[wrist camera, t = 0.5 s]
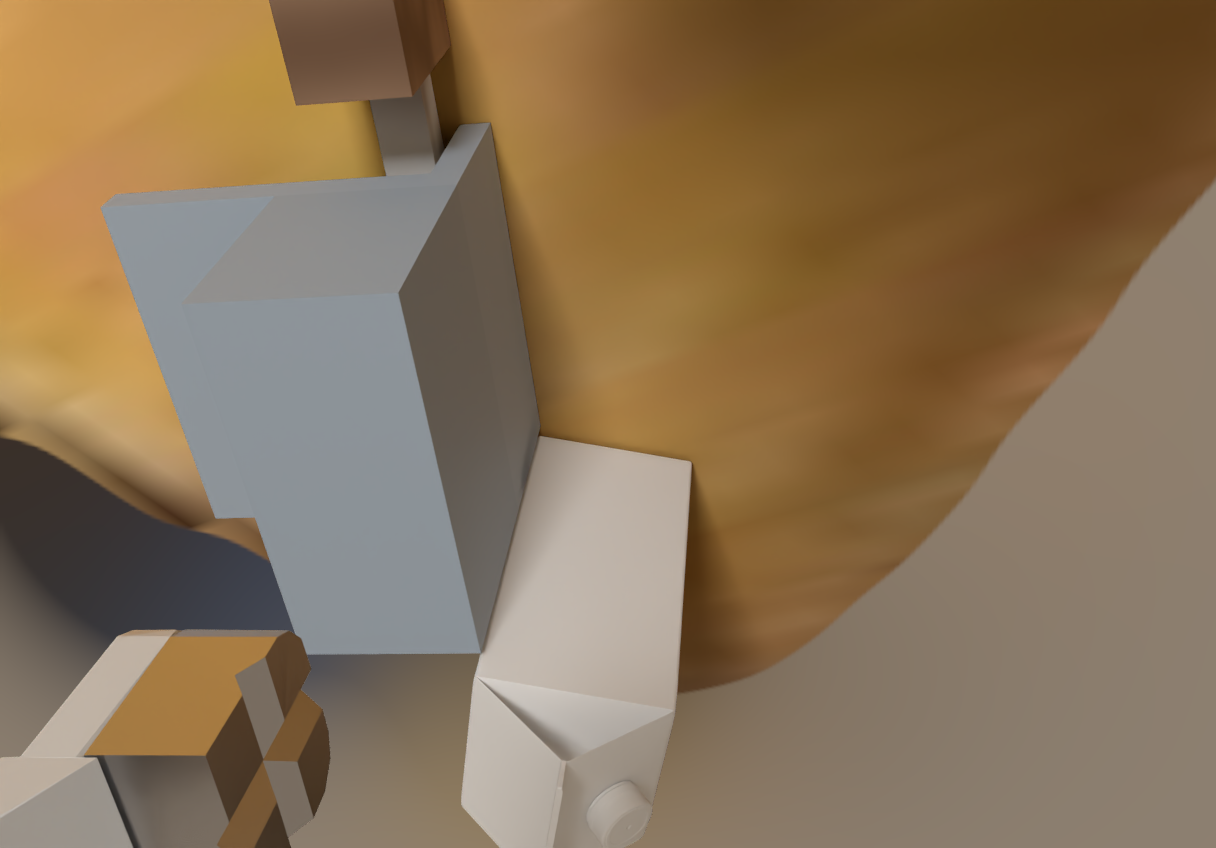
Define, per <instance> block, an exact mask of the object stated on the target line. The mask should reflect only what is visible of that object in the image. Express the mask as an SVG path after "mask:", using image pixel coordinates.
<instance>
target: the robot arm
mask: <svg viewBox="0 0 1216 848" xmlns="http://www.w3.org/2000/svg"><path fill="white" fill-rule="evenodd" d="M310 671H311V666H310V663H309V660H308V657H307V654H306V651H305V648H304V645H303V642H302V639H301V638H300V637H298V636H297V635H295V634H294V633H292V632H290V631H279V630H278V631H277V630H184V631H179V630H133V631H130V632H128V633H125V634H122V635H120V636H117V638H116V639H115V640H114V642H113V643H112V644H111V645H110V646H109V648H108V649H107V650H106V651H105V652H104V654H103V655H102V656H101V657H100V659H99V660H98V661H97V662H96V664H95V665H94V666H93V667H92V669H91V670H90V671H89V672H88V674H87V675H86V676H85V677H84V679H83V680H82V681H81V682H80V683H79V685H78V686H77V687H76V688H75V690H74V691H73V692H72V693H71V695H70V696H69V697H68V698H67V700H66V701H65V702H64V703H63V704H62V706H61V707H60V708H59V710H58V711H57V712H56V713H55V714H54V716H53V717H52V718H51V719H50V721H49V722H48V723H47V724H46V726H45V727H44V728H43V729H42V731H41V732H40V733H39V735H38V736H37V737H36V738H35V739H34V741H33V742H32V743H31V744H30V745H29V747H28V748H27V749H26V750H25V752H24V753H23V754H22V755H21V757H2V758H1V759H0V848H291V846H290V843H289V839H288V838H289V837H290V836H291V835H293V834H294V833H295V832H296V831H298V830H299V829H300V828H301V827H303V826H304V825H306V824H307V823H308V822H309V821H311V820H312V819H313V818H314V816H315V814H316V812H317V809H318V807H319V805H320V802H321V800H322V797H323V795H324V793H325V789H326V783H327V776H328V770H329V764H330V745H329V731H328V728H327V724H326V720H325V716H324V712H323V709H322V708H321V707H320V706H318V705H317V704H316V703H315V702H314V701H313V700H312V699H311V698H310V697H308V696H307V695H306V694H305V693H304V692H303V691H301V688H302V686H303V684H304V682H305V680H306V678H307V676H308V674H309V672H310Z"/></svg>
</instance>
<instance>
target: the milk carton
mask: <svg viewBox="0 0 1216 848" xmlns="http://www.w3.org/2000/svg"><path fill="white" fill-rule="evenodd" d="M691 471H692V463H691V462H690V461H685V460H679V459H673V458H667V457H662V456H656V455H650V454H644V453H638V452H632V451H627V450H621V449H615V448H609V447H603V446H597V445H591V444H586V443H580V442H574V441H568V440H562V439H556V438H550V437H544V436H539V437H538V438H537V442H536V445H535V449H534V453H533V457H532V461H531V464H530V468H529V472H528V476H527V480H526V483H525V487H524V491H523V495H522V499H521V502H520V506H519V510H518V514H517V518H516V521H515V525H514V529H513V533H512V537H511V540H510V544H509V548H508V552H507V556H506V559H505V563H504V567H503V571H502V575H501V578H500V582H499V586H498V590H497V594H496V597H495V601H494V605H493V609H492V613H491V616H490V620H489V624H488V628H487V632H486V635H485V639H484V643H483V647H482V651H481V654H480V658H479V661H478V665H477V669H476V673H475V676H474V681H473V690H472V699H471V708H470V718H469V728H468V738H467V748H466V757H465V767H464V777H463V786H462V797H461V801H462V802H461V804H462V807H463V808H464V809H465V810H466V811H467V812H468V813H469V814H470V816H471V817H472V818H473V819H474V820H475V821H476V822H477V823H478V824H479V825H480V827H481V828H482V829H483V830H484V831H485V832H486V833H487V834H488V835H489V836H490V837H491V838H492V840H493V841H494V842H495V843H496V844H497V845H498V846H499V847H500V848H625V847H627V846H629V845H630V844H632V843H634V842H636V841H637V840H639V839H641V838H642V837H643V835H644V833H645V831H646V828H647V824H648V822H649V820H650V818H651V815H652V806H653V802H654V798H655V794H656V790H657V786H658V782H659V778H660V774H661V770H662V766H663V762H664V758H665V754H666V750H667V746H668V743H669V739H670V735H671V731H672V726H673V722H674V717H675V712H676V702H677V690H678V675H679V659H680V643H681V628H682V612H683V596H684V581H685V565H686V549H687V534H688V518H689V502H690V487H691Z"/></svg>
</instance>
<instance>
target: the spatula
mask: <svg viewBox="0 0 1216 848" xmlns="http://www.w3.org/2000/svg"><path fill="white" fill-rule="evenodd" d="M269 3H270V6H271V10H272V14H273V18H274V22H275V26H276V30H277V34H278V37H279V41H280V45H281V49H282V53H283V57H284V61H285V65H286V68H287V72H288V76H289V80H290V84H291V88H292V92H293V96H294V99H295V103H296V106H297V105H310V104H323V103H336V102H349V101H362V100H370V105H371V109H372V114H373V118H374V123H375V127H376V132H377V136H378V141H379V145H380V150H381V154H382V159H383V163H384V168H385V172H386V176H398V175H413V174H428V173H431V172H432V170H433V169H434V167H435V165H436V164H437V162H438V160H439V159H440V157H441V155H442V154H443V152H444V144H443V139H442V134H441V129H440V123H439V118H438V113H437V108H436V102H435V97H434V92H433V87H432V81H431V76H430V73H431V71H432V70H433V69H434V67H435V66H436V65H437V63H438V62H439V61H440V59H441V58H442V57H443V55H444V54H445V53H446V51H447V50H448V49H449V47H450V46H451V42H450V36H449V30H448V25H447V19H446V13H445V8H444V2H443V0H269Z"/></svg>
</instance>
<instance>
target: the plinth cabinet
mask: <svg viewBox="0 0 1216 848" xmlns="http://www.w3.org/2000/svg"><path fill="white" fill-rule="evenodd" d="M101 210H102V213H103V215H104V218H105V221H106V224H107V226H108V229H109V232H110V234H111V237H112V240H113V242H114V245H115V248H116V250H117V253H118V256H119V259H120V261H121V264H122V267H123V269H124V272H125V275H126V277H127V280H128V283H129V286H130V288H131V291H132V294H133V296H134V299H135V302H136V304H137V307H138V310H139V313H140V315H141V318H142V321H143V323H144V326H145V329H146V331H147V334H148V337H149V339H150V342H151V345H152V348H153V350H154V353H155V356H156V358H157V361H158V364H159V366H160V369H161V372H162V375H163V377H164V380H165V383H166V385H167V388H168V391H169V393H170V396H171V399H172V402H173V404H174V407H175V410H176V412H177V415H178V418H179V420H180V423H181V426H182V428H183V431H184V434H185V437H186V439H187V442H188V445H189V447H190V450H191V453H192V455H193V458H194V461H195V464H196V466H197V469H198V472H199V474H200V477H201V480H202V482H203V485H204V488H205V491H206V493H207V496H208V499H209V501H210V504H211V507H212V509H213V512H214V515H215V518H253V517H255V519H256V522H257V525H258V527H259V530H260V533H261V536H262V539H263V542H264V545H265V548H266V551H267V553H268V556H269V559H270V562H271V565H272V567H273V571H274V573H275V576H276V579H277V582H278V585H279V587H280V591H281V594H282V596H283V600H284V602H285V605H286V608H287V611H288V614H289V617H290V620H291V623H292V625H293V628H294V631H295V634H296V635H297V636H298V637H300V638H301V639H302V642H303V645H304V648H305V651H306V654H437V653H439V654H440V653H441V654H442V653H443V654H447V653H481V651H482V647H483V643H484V639H485V635H486V632H487V628H488V624H489V620H490V616H491V613H492V609H493V605H494V601H495V597H496V594H497V590H498V586H499V582H500V578H501V575H502V571H503V567H504V563H505V559H506V556H507V552H508V548H509V544H510V540H511V537H512V533H513V529H514V525H515V521H516V518H517V514H518V510H519V506H520V502H521V499H522V495H523V491H524V487H525V483H526V480H527V476H528V472H529V468H530V464H531V461H532V457H533V453H534V449H535V445H536V442H537V438H538V434H539V430H540V420H539V414H538V408H537V402H536V396H535V390H534V383H533V377H532V371H531V365H530V359H529V353H528V347H527V341H526V335H525V329H524V323H523V317H522V311H521V305H520V299H519V293H518V287H517V281H516V275H515V269H514V263H513V256H512V250H511V244H510V238H509V232H508V226H507V220H506V214H505V208H504V202H503V196H502V190H501V184H500V178H499V172H498V166H497V160H496V154H495V148H494V142H493V136H492V129H491V123H478V124H464V125H459V127H458V129H457V130H456V132H455V134H454V135H453V137H452V139H451V140H450V142H449V144H448V145H447V147H446V149H445V150H444V152H443V154H442V155H441V157H440V159H439V160H438V162H437V164H436V165H435V167H434V169H433V170H432V172H431V173H428V174H413V175H398V176H383V177H368V178H353V179H338V180H323V181H308V182H292V183H277V184H262V185H247V186H232V187H217V188H202V189H187V190H172V191H157V192H142V193H127V194H116V195H114V196H113V197H112V198H111V199H110V200H109V201H107V202H106V203H105V204H104V205H103V206H102V207H101Z"/></svg>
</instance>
